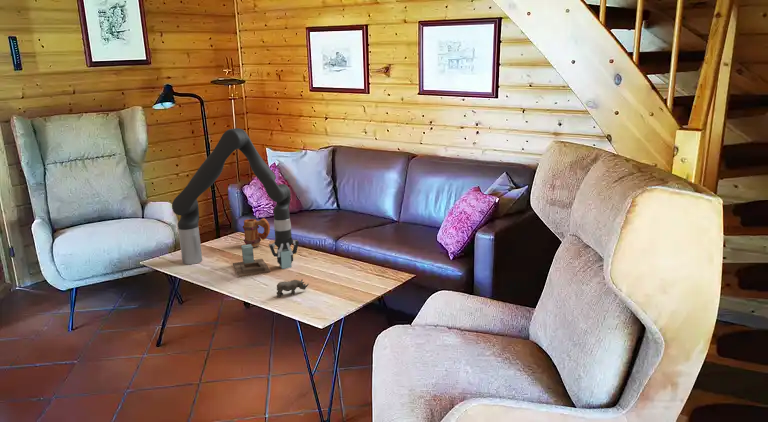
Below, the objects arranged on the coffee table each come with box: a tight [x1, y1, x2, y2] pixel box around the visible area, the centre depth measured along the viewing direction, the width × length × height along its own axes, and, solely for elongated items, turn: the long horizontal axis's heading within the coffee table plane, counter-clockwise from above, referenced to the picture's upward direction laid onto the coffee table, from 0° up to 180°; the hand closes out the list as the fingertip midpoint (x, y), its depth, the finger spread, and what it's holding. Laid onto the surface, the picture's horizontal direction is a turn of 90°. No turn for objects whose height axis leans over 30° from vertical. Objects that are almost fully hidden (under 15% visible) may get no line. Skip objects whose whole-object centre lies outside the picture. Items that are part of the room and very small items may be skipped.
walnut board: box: [232, 244, 271, 278], centre depth 264 cm, size 18×14×9 cm
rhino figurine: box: [276, 278, 310, 298], centre depth 234 cm, size 4×14×6 cm, turn 112°
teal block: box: [279, 249, 293, 270], centre depth 265 cm, size 4×4×8 cm
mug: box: [242, 217, 271, 248], centre depth 295 cm, size 15×8×15 cm, turn 80°
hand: (285, 263), depth 266 cm, fingers closed on teal block, 4 cm apart
